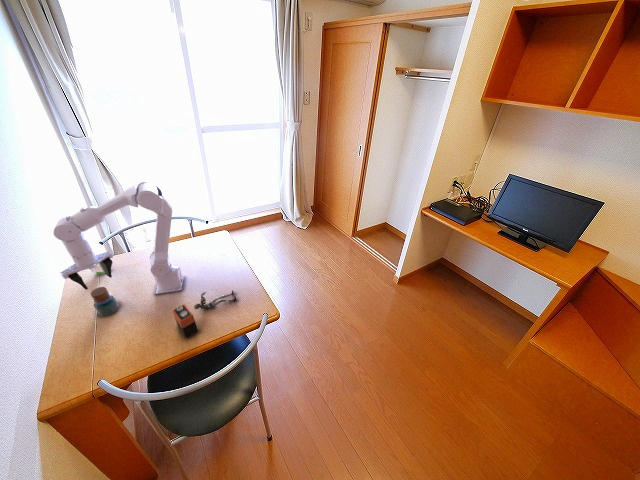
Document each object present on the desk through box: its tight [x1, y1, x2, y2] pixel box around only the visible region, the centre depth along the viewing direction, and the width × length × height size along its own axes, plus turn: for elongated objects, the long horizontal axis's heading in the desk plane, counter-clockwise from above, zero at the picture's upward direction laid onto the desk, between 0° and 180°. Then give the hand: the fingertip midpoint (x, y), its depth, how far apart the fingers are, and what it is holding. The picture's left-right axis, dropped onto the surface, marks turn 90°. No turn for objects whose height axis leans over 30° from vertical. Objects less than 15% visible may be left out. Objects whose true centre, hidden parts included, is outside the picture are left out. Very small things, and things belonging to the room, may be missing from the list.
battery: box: [172, 303, 199, 339], centre depth 91 cm, size 4×7×10 cm, turn 46°
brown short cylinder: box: [90, 286, 111, 302], centre depth 95 cm, size 5×5×3 cm
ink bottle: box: [93, 294, 120, 317], centre depth 97 cm, size 6×6×6 cm
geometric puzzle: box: [89, 263, 106, 276], centre depth 114 cm, size 7×7×8 cm
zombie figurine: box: [193, 290, 237, 310], centre depth 102 cm, size 5×7×15 cm
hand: (97, 282), depth 96 cm, fingers open, 7 cm apart
